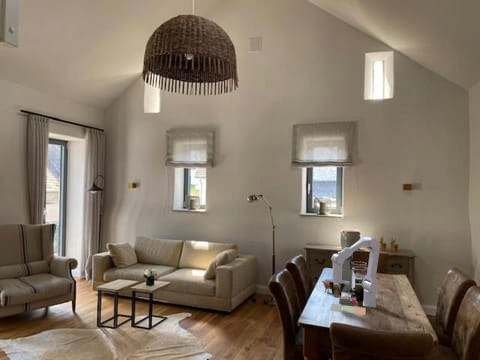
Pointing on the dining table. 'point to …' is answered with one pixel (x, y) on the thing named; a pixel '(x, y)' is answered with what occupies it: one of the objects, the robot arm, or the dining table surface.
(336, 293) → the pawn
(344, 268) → the water bottle
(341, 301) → the grey open box
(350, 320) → the dining table surface
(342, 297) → the dome
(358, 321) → the dining table surface
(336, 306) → the game board
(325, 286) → the bull figurine
